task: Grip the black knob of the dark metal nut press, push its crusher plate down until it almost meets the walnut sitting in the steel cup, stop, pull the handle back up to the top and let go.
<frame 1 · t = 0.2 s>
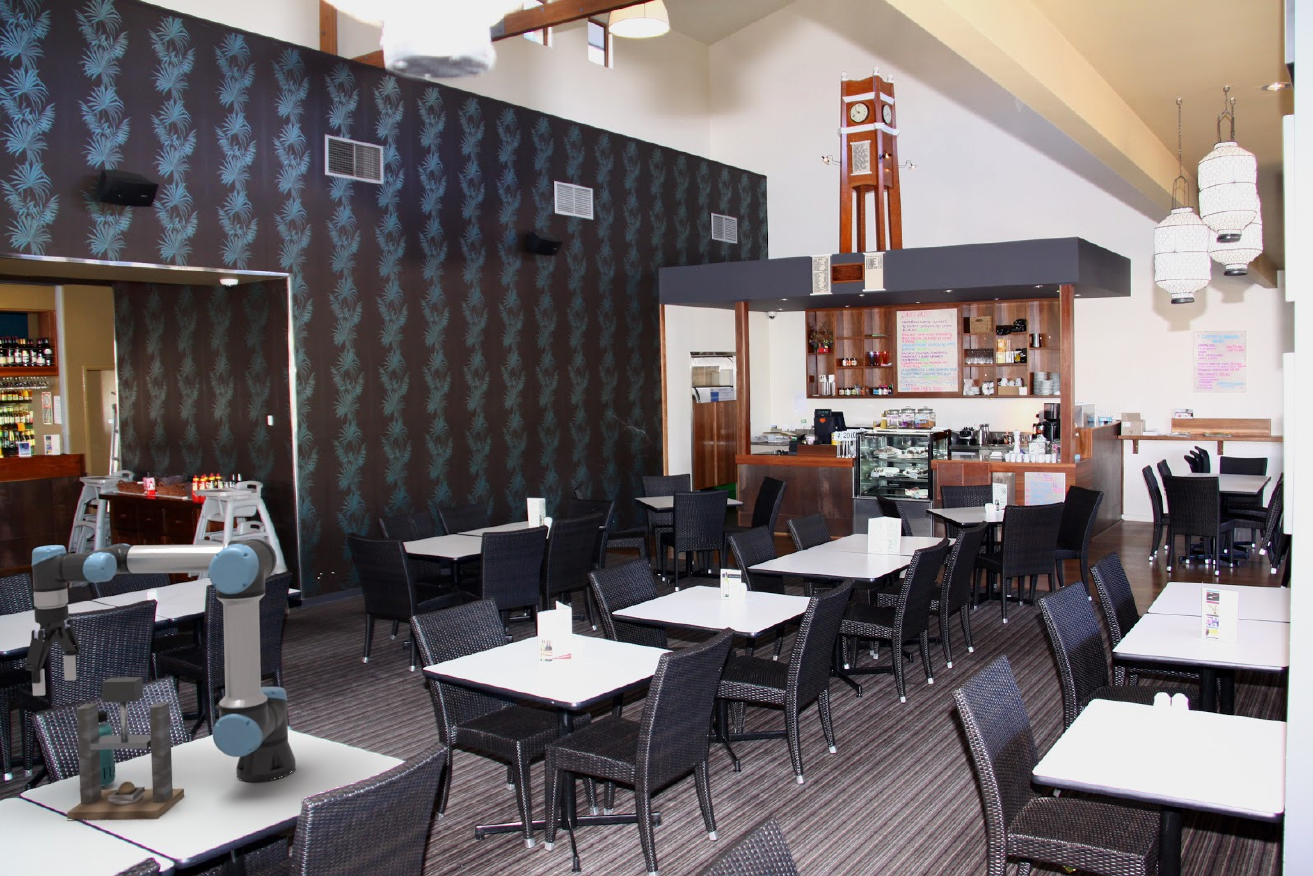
hand: (55, 687, 262), 28 cm above the table, tool pointing down, fingers open, 13 cm apart
press frame: (127, 808, 254), on the table
beverage bottle: (102, 788, 268), on the table
walnut: (126, 789, 254), point 5 cm above the table, touching press frame
crusher: (123, 712, 253), point 24 cm above the table, slide at 0.0 cm
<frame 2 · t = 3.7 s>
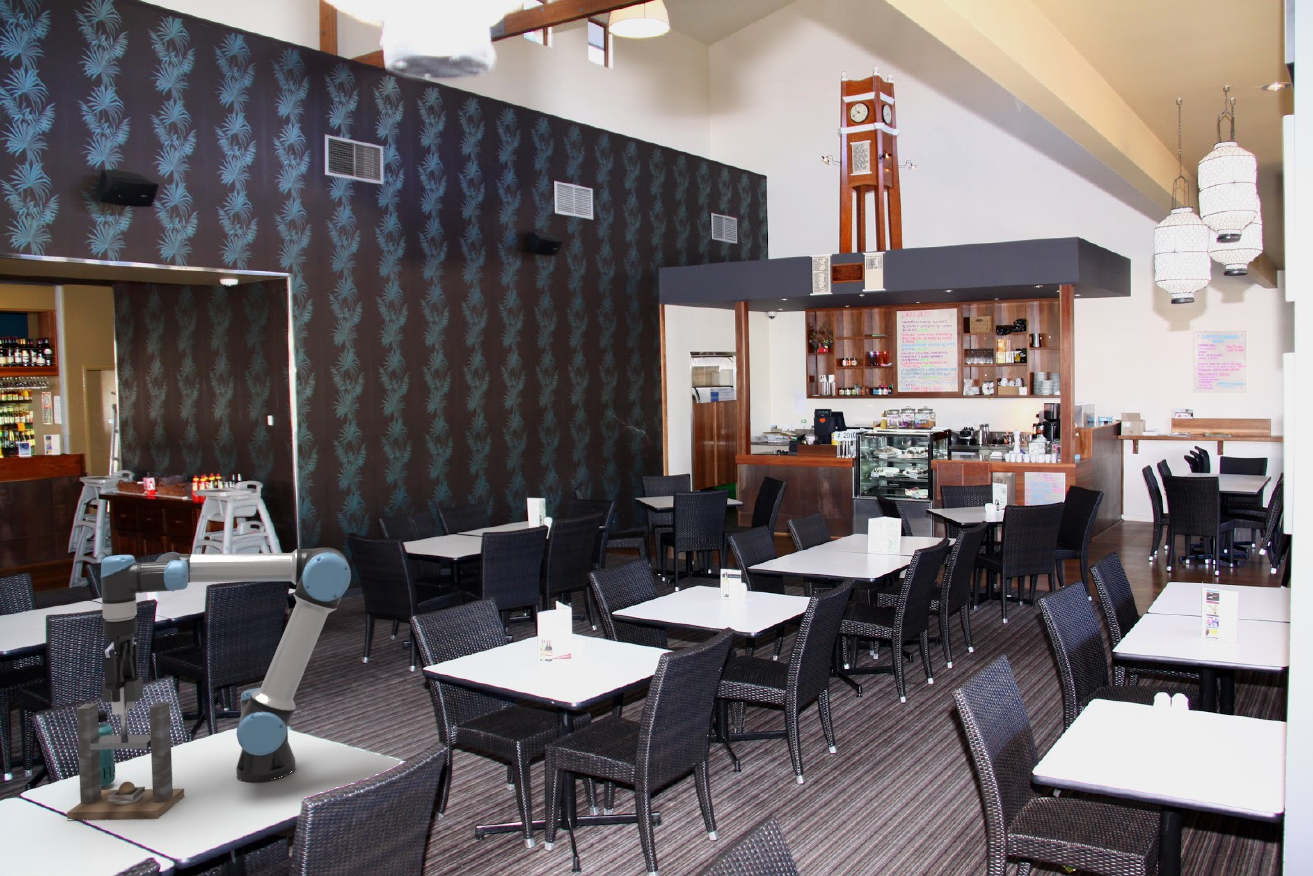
hand: (123, 710, 253), 25 cm above the table, tool pointing down, fingers closed on crusher, 4 cm apart
crusher: (123, 712, 253), point 24 cm above the table, slide at 0.0 cm, touching gripper
everything else where it was.
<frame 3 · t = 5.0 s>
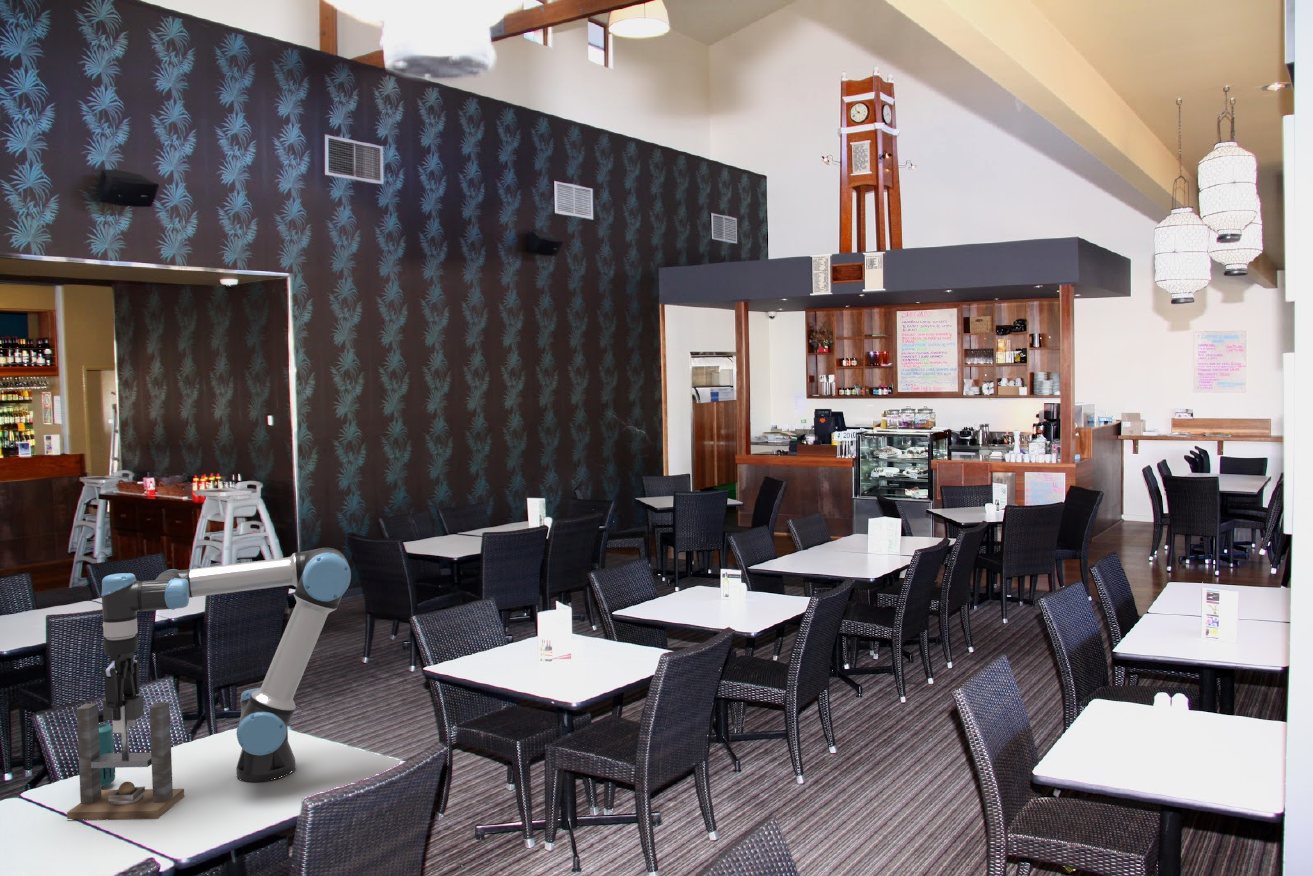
hand: (124, 729, 253), 20 cm above the table, tool pointing down, fingers closed on crusher, 4 cm apart
crusher: (124, 730, 253), point 20 cm above the table, slide at 4.6 cm, touching gripper
everything else where it was.
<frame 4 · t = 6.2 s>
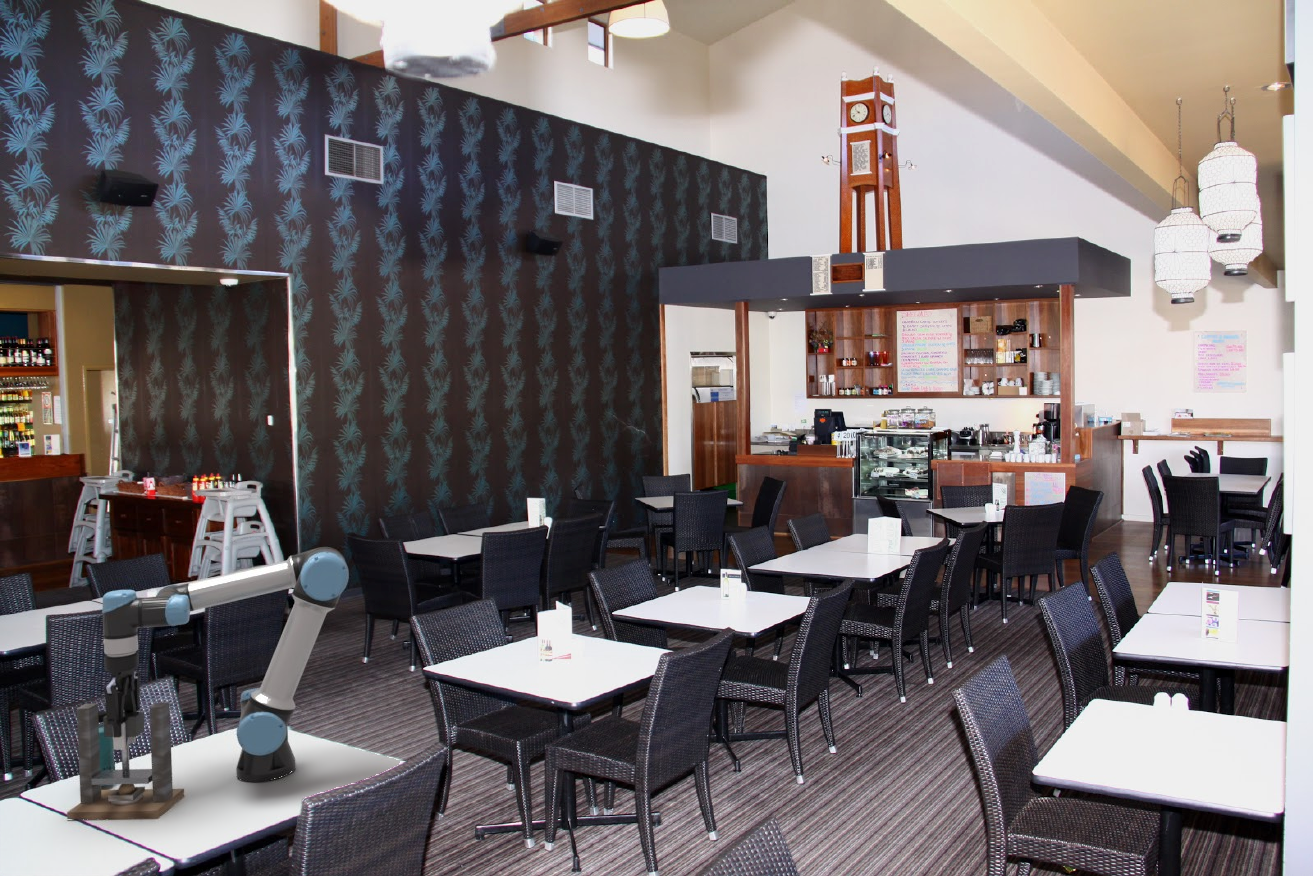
hand: (125, 745, 253), 16 cm above the table, tool pointing down, fingers closed on crusher, 4 cm apart
crusher: (125, 747, 253), point 15 cm above the table, slide at 8.8 cm, touching gripper
everything else where it was.
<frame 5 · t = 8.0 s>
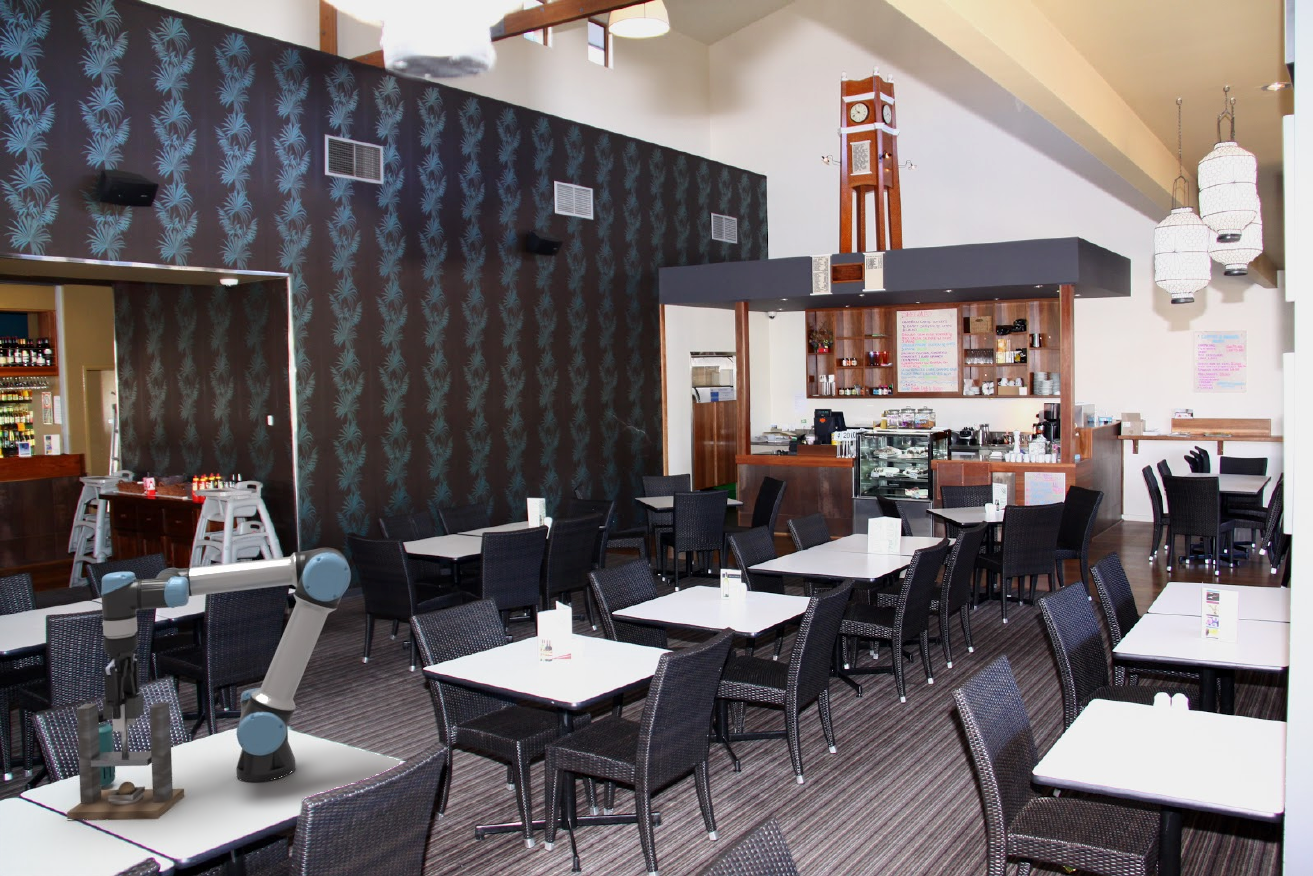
hand: (124, 727, 253), 20 cm above the table, tool pointing down, fingers closed on crusher, 4 cm apart
crusher: (124, 729, 253), point 20 cm above the table, slide at 4.2 cm, touching gripper
everything else where it was.
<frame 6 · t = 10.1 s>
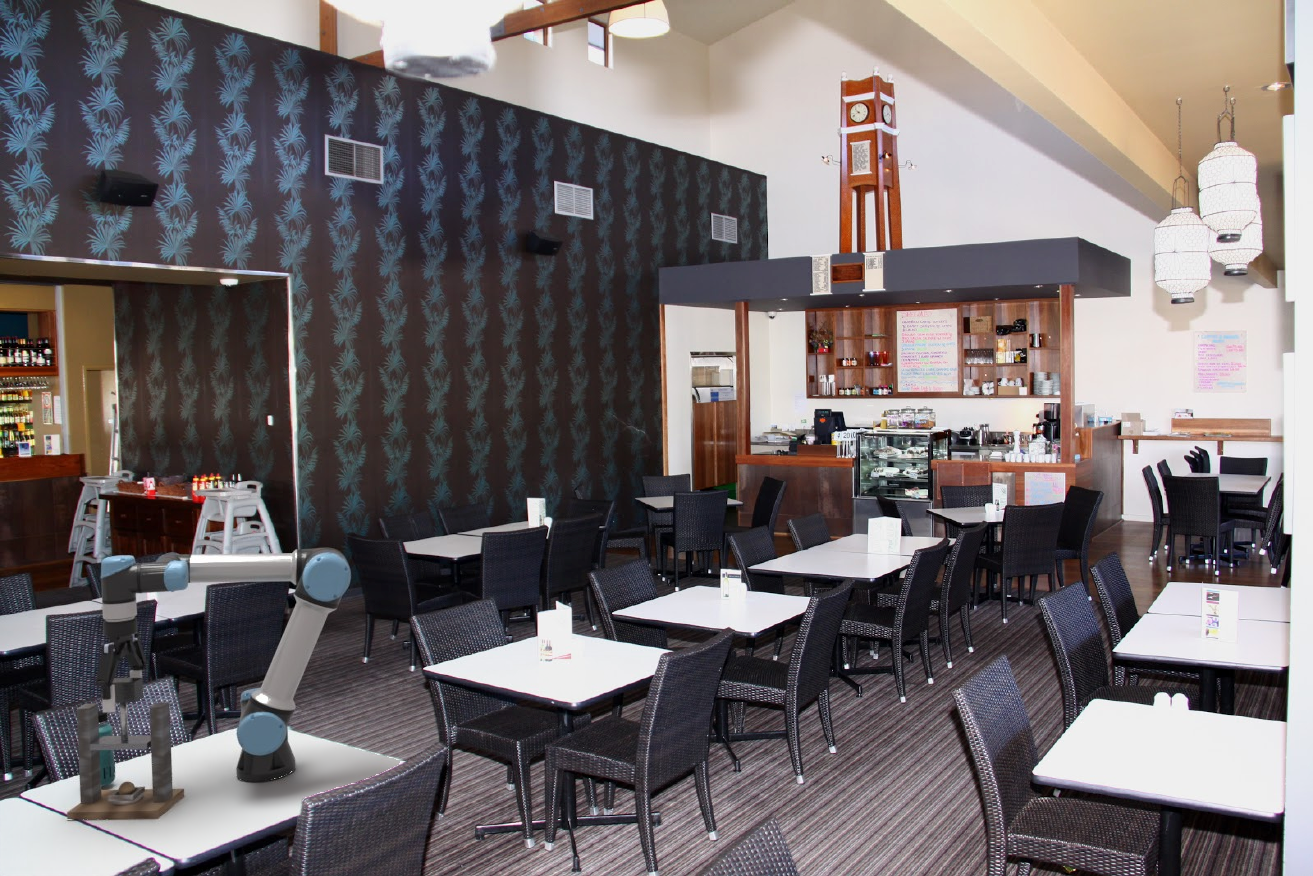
hand: (123, 703, 253), 26 cm above the table, tool pointing down, fingers open, 12 cm apart
crusher: (123, 713, 253), point 24 cm above the table, slide at 0.1 cm
everything else where it was.
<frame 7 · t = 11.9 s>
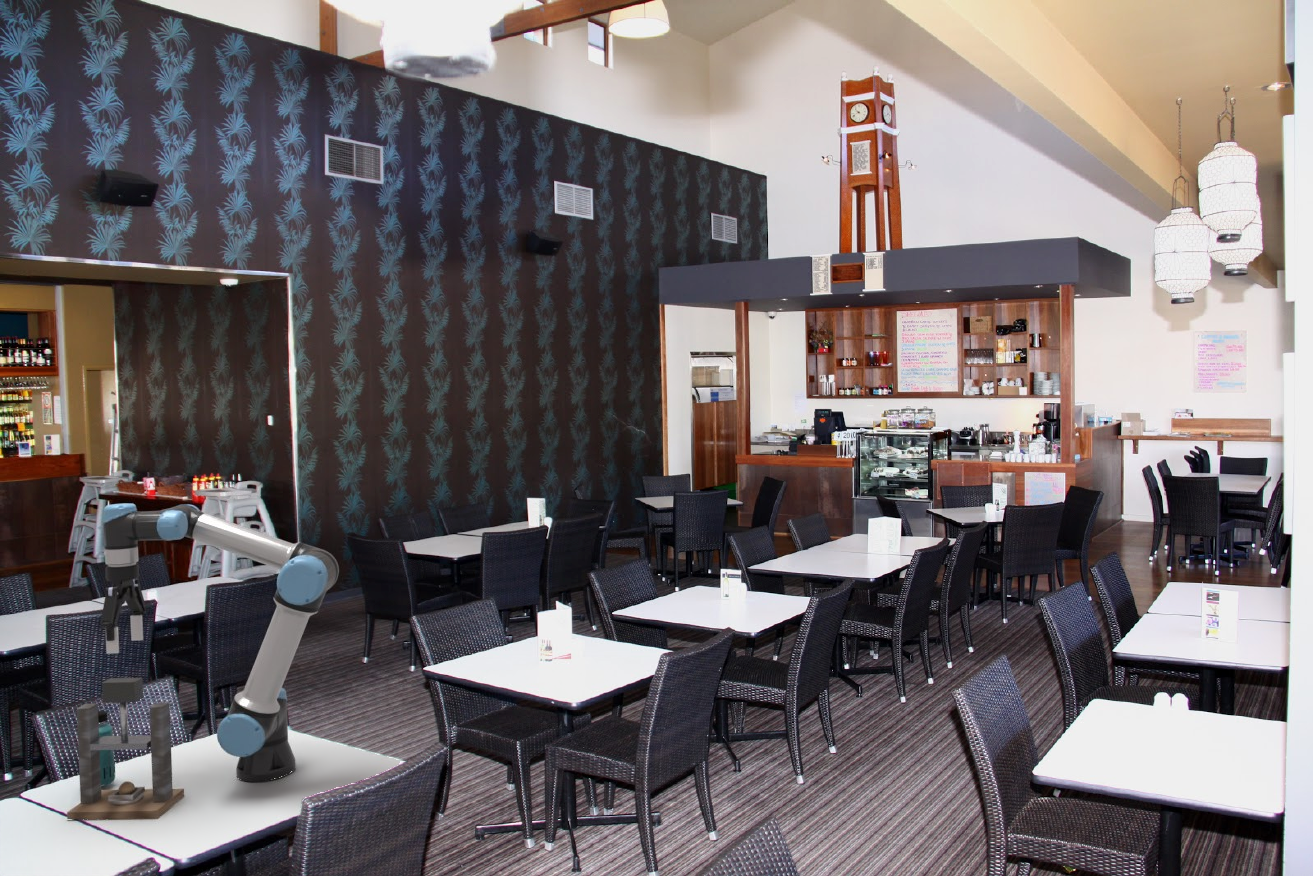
hand: (125, 646, 260), 39 cm above the table, tool pointing down, fingers open, 13 cm apart
nothing on the table moved.
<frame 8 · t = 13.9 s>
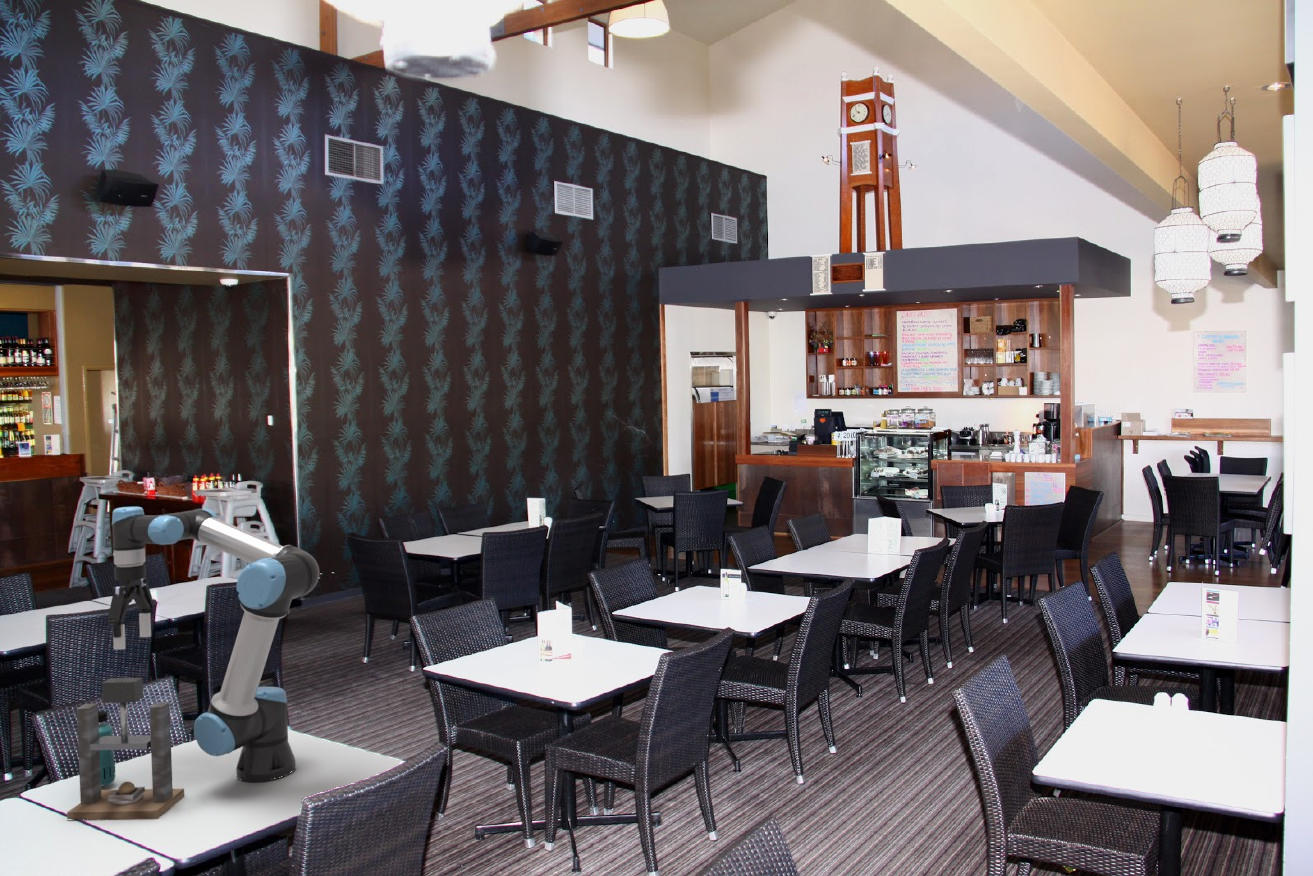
hand: (132, 643, 273), 37 cm above the table, tool pointing down, fingers open, 13 cm apart
nothing on the table moved.
at the end: crusher slide at 0.1 cm; walnut moved 0.1 cm from its start; the gripper is holding nothing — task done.
